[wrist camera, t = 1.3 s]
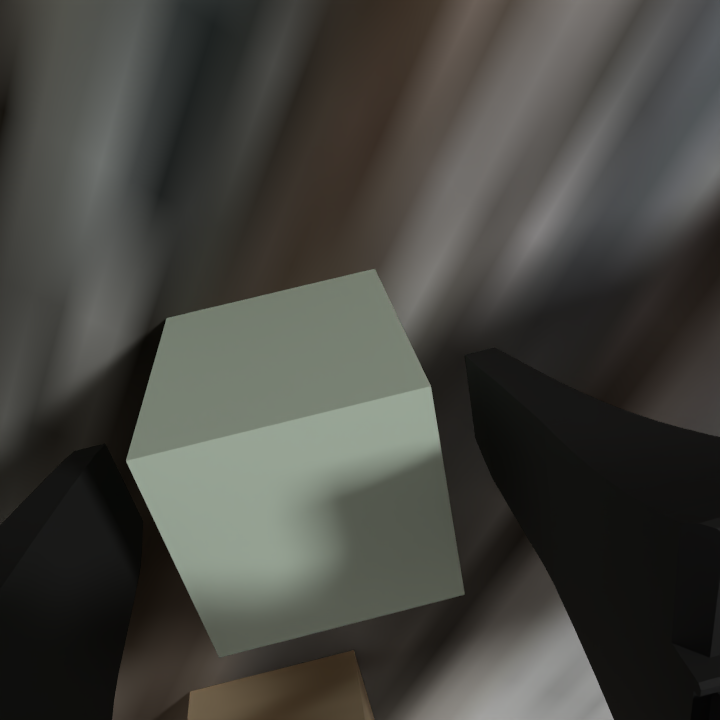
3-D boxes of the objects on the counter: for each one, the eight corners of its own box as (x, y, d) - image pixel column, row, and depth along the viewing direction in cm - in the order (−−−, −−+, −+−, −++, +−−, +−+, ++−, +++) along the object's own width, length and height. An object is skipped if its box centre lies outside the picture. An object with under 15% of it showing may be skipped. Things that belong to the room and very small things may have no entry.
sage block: (374, 267, 14) (430, 386, 9) (406, 435, 16) (464, 595, 12) (167, 317, 14) (125, 460, 9) (228, 479, 16) (219, 658, 11)
